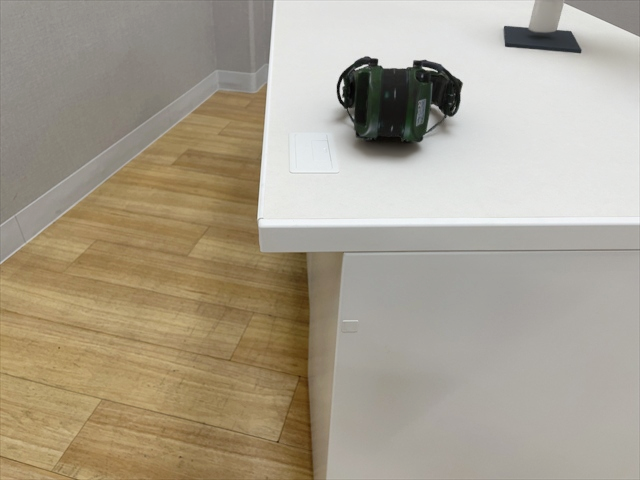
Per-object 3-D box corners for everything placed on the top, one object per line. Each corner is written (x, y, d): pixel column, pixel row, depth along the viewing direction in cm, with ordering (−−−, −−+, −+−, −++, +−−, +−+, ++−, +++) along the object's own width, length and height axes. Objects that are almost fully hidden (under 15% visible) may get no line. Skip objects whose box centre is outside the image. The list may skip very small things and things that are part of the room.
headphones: (491, 114, 55) (461, 83, 73) (412, 15, 51) (401, 8, 69) (394, 191, 60) (389, 145, 77) (316, 105, 56) (329, 78, 74)
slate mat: (570, 33, 110) (571, 31, 110) (580, 52, 98) (581, 49, 97) (503, 28, 113) (504, 25, 113) (505, 46, 101) (505, 43, 100)
